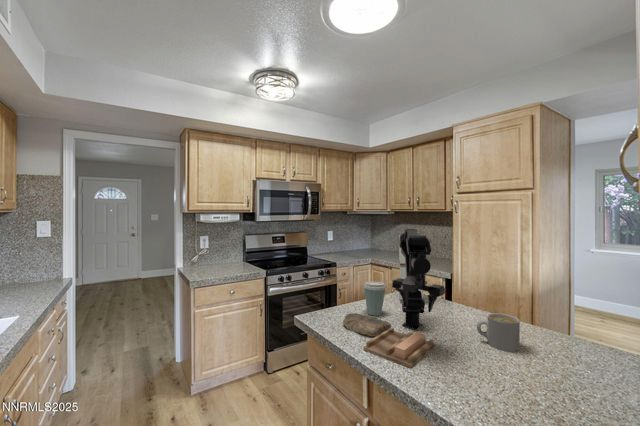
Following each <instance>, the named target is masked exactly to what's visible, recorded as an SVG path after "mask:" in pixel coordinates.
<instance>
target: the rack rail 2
mask: <svg viewBox="0 0 640 426" xmlns="http://www.w3.org/2000/svg"><path fill="white" fill-rule="evenodd" d="M434 340H435V339H433V338H431V339H429V340H427V341H428V342H427V343H425V344H424V345H423V346H422V347H420V348H419V349H418V350H417V351H415V352H414V353H413V354H412V355H410V356H409V357H408V363H412V362H413V361H414V360H416V359H417V358H418V357H419V356H420V355H422V354H423V353H424V352H425V351H426V350H427V349H429V348H430V347H431V346H432V345H433V344H434V343H435V341H434Z"/></svg>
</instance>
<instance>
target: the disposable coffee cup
mask: <svg viewBox="0 0 640 426" xmlns="http://www.w3.org/2000/svg"><path fill="white" fill-rule="evenodd" d="M363 289H364V297H365V304H366V312H367V314H368V315H369V316H373V317H375V316H376V317H377V316H381V314H382V312H383V306H384V300H385V294H386V289H387V285H386V284H385V283H384V282H380V281H365V282H364V284H363Z"/></svg>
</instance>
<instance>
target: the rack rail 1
mask: <svg viewBox="0 0 640 426" xmlns="http://www.w3.org/2000/svg"><path fill="white" fill-rule="evenodd" d="M394 331H395V327H393V326H391V328H390V329H388V330H386V331H385V332H383V333H381V334H380V335H378V336H374V337H373V338H371V339H369V340H368V341H366V343H365V344H366V345H365V346H366V347H368V348H369V347H371V346H372V345H374V344H375V343H377V342H379V341H380V340H382V339H384V338H385V337H387V336H388V335H390V334H392V333H393V332H394Z"/></svg>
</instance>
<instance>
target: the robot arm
mask: <svg viewBox="0 0 640 426" xmlns="http://www.w3.org/2000/svg"><path fill="white" fill-rule="evenodd" d="M398 239H399V238H398ZM398 243H399V246H398V248H399V247H400V248H401V253H402V254H403V255H404V257H405V266H406V278H405V279H401V278H400V277H399V278H396V279H394V280H393V281H392V282H391V287H392V289H395V291H397V292H398V293H399V295H400V294H401V296H402V303H401V311H402V313H405V322H404V323H402V325H401V326H403V327H405V328H410V329H413V330H418V329H420V328H421V327H422V326H423V325H424V324H423V323H421V322H420V314H424V313H425V306H426V302H425V300H424V298H423V299H422V294H421V291H419V290H423V291H426V292H428V295H427V298H428V306H427V308H428V309H427V311H428V313H431V311H432V310H433V307H434V305H435V302H436V300H437V299H438V297H441V296H443V295H444V294H446V288H445V286H444V285H442V284H435V283H433V284H432V285H427V284H428V281H427V279H426V274H428V273H429V272H430V270H431V267H432V266H431V263H430V261H429V259H428V258H427V256H428V255H429V256H430V255H431V252H432V247H431V241H430V240H429V238H428V237H427V236H426V235H425V234H423V235H422V234H419V233H418V231H417V229H416V228H412V229H411V228H407V229H404V232H403V233H402V234H401V236H400V239H399V241H398ZM418 289H419V290H418Z"/></svg>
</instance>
